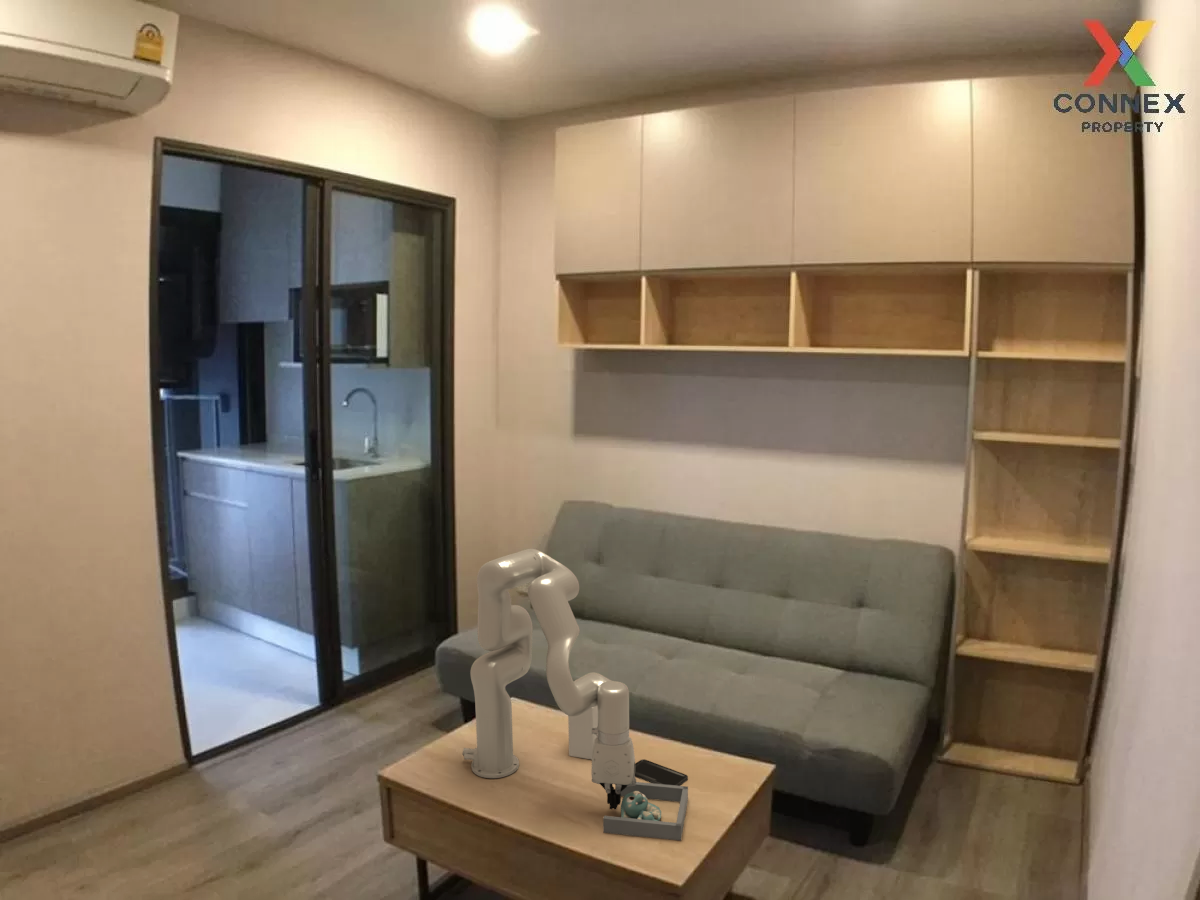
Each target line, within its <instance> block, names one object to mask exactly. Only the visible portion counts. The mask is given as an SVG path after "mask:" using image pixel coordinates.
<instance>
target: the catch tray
mask: <svg viewBox="0 0 1200 900" xmlns="http://www.w3.org/2000/svg"><path fill="white" fill-rule="evenodd" d="M615 788H616V784H614V789H615ZM634 791H639V792H640V793H642V794H644V795H645V796H646V798H647V800H648V799H649V800H656V801H657V800H659V801H666V802H667V801H670V802H679V807H678V811H677V818H676V822H673V821H672V822H671V821H670V822H669V821H663V820H661V821H660V820H659V821H653V820H643V819H633V818H622V817H621V816H610V815H604V816H603V818H602V822H603V824H602V825H603V826H602V828H603V834H615V835H622V836H624V835H625V836H632V837H640V838H641V837H643V838H652V839H661V840H673V841H680V842H681V841H682V836H683V831H684V825H685V819H686V813H687V808H688V801H689V786H686V785H684V786H683V785H680V786H676V785H665V784H654V783H650V782H644V781H643V782H640V781H636V785H635V786H631V787H626V788H625V789H624V790H622V791H621V797H624V796H625V795H626V794H628V793H631V792H634Z"/></svg>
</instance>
